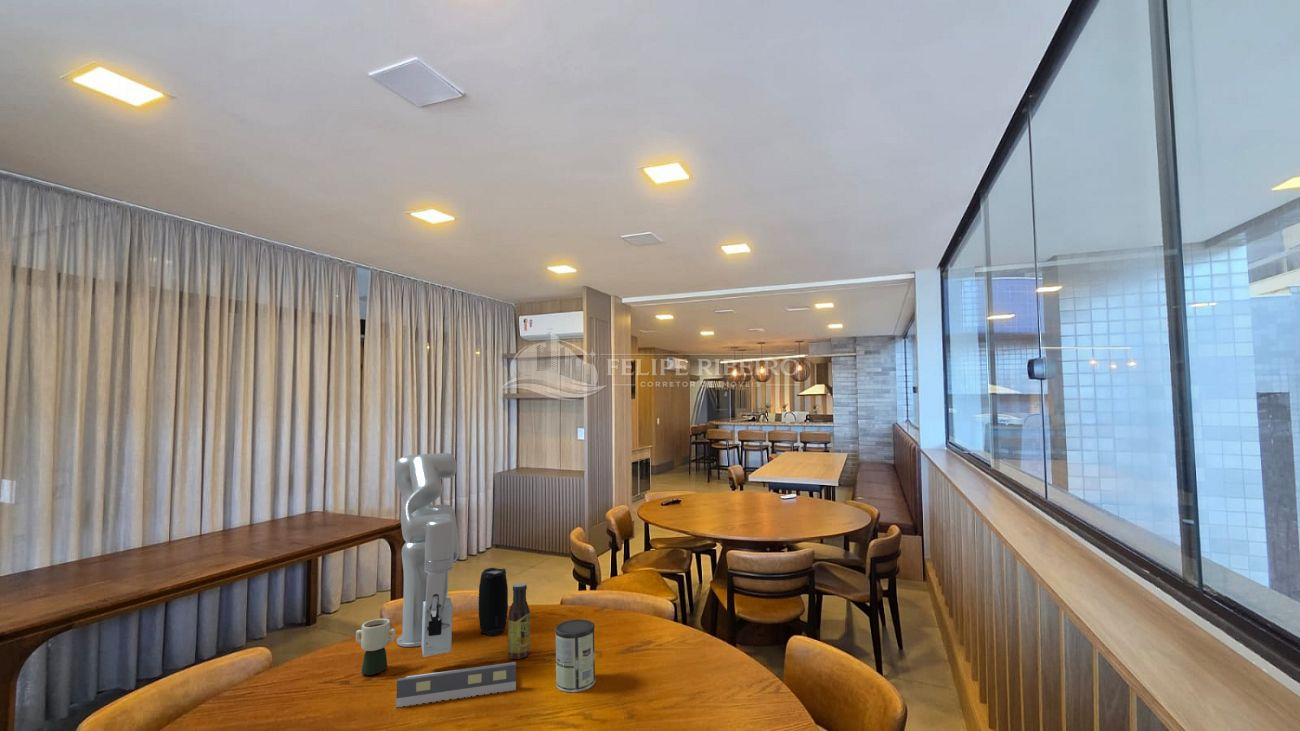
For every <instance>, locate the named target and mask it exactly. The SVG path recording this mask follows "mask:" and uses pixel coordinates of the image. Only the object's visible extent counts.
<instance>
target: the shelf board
mask: <svg viewBox="0 0 1300 731" xmlns="http://www.w3.org/2000/svg"><path fill="white" fill-rule="evenodd" d="M510 663H516V664H517V662H516V661H512V662H505V663H497V664H491V665H483V666H482V665H481V666H476V667H466V668H460V669H453V670H452V669H451V670H446V671H445V670H444V671H440V672H430V673H424V674H418V675H417V674H416V675H408V676H405V678H407V677H414V676H421V675H429V674H436V673H443V672H451V671H458V670H466V669H473V668H480V667H488V666H495V665H502V664H510ZM516 690H517V680H516V681H514V682H507V683H500V684H493V685H487V686H480V687H473V688H466V689H459V690H452V691H445V692H438V693H431V694H424V695H417V696H410V697H403V698H395V708H396V709H397V707H398V708H403V706H405V707H409V706H410V705H411V706H417V705H416V704H418V705H423V704H422V703H425V704H430V703H429V702H432V703H437V702H436V701H438V702H442V701H441V700H445V701H450V700H449V699H452V700H456V699H457V698H459V699H464V697H465V698H470V697H471V696H472V697H477V696H476V695H479V696H485V695H491V694H490V693H492V694H497V692H499V693H504V692H505V691H506V692H511V691H516ZM484 694H485V695H484Z"/></svg>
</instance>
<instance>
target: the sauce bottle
mask: <svg viewBox="0 0 1300 731" xmlns="http://www.w3.org/2000/svg"><path fill="white" fill-rule="evenodd" d="M527 589H528V588H527V584H526V583H522V582H521V583H520V582H519V583H515V584H513V585H512V591H513V594H512V596H513V598H512V603H511V605H510V607H509V608H508V609H509V610H508V618H507V620H508V624H507V625H508V626H507V634H508V635H507V652H508V653H507V654H508V655H507V656H508V658H509V659H510V660H521V659H524V658H526V657H528V656H529V653H530V646H531V645H530V644H531V643H530V642H531V641H530V639H531V638H530V637H531V636H530V635H531V610H530V608H529V604H528V602H527Z"/></svg>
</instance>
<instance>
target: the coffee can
mask: <svg viewBox="0 0 1300 731" xmlns="http://www.w3.org/2000/svg"><path fill="white" fill-rule="evenodd" d="M595 628H596V627H595V623H594V622H593V621H591V620H588V619H583V618H582V619H579V618H578V619H570V620H565V621H563V622H560V623H558V624H557V625H556V626H555V628H554V632H555V673H556V674H555V675H556V676H555V679H556V681H555V687H556V688H557V690H559V691H561V692H565V693H580V692H583V691H587V690H589V689H590V688H592V687H593V686H594V685H595V683H596V668H595V667H596V663H595V662H596V659H595V657H596V656H595Z"/></svg>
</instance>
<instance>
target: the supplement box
mask: <svg viewBox="0 0 1300 731" xmlns="http://www.w3.org/2000/svg"><path fill="white" fill-rule="evenodd" d="M437 607H440V606H437ZM453 607H454V606H453V602H452V599H451V597H447V600H446V603H445V606H444V608H443V609H441V619H442V628H441V635H435V636H429V635H428V634H429V618H430V609H429V610H427V611H426V610H425V602H423V617H422V644H421V651H422V652H421V653H422V657H423V658H426V657H430V656H435V655H440V654H445V653H451V652H452V639H453V638H452V636H453V635H452V633H453V629H452V628H453ZM430 608H431V607H430ZM437 612H438V613H439V611H437Z"/></svg>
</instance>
